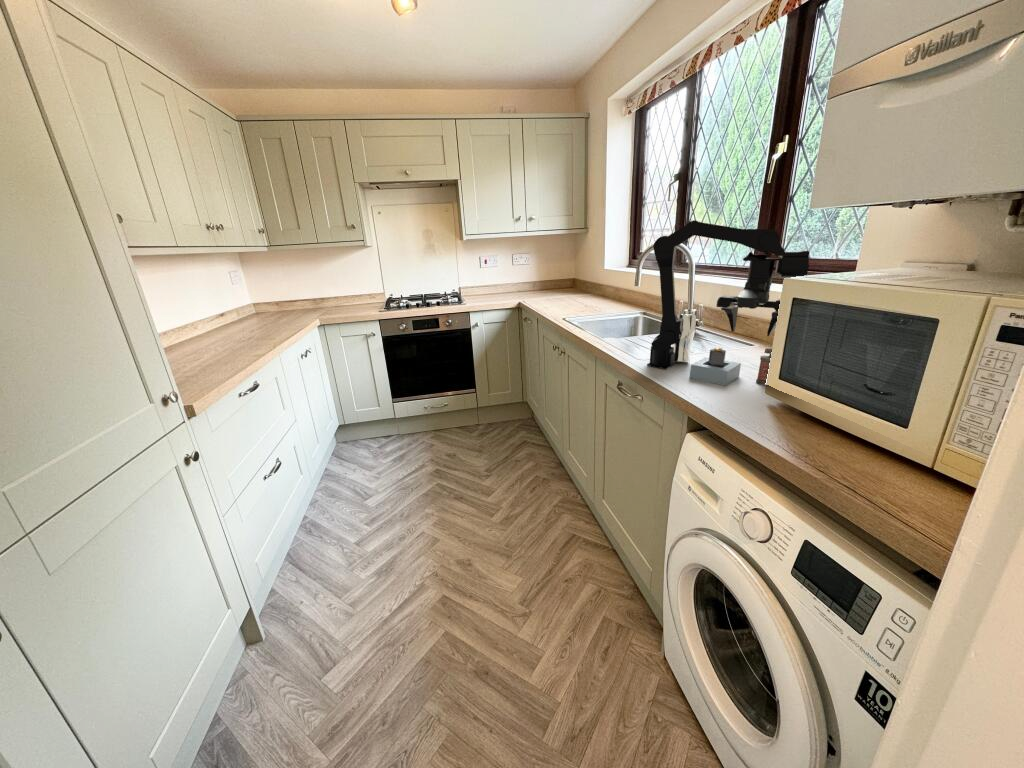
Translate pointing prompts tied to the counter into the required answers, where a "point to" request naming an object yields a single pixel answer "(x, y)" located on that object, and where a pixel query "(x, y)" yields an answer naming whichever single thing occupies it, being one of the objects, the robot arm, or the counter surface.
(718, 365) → the cell
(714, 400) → the counter surface
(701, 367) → the box
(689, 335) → the shiny silver cylinder
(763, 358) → the red decorated tea tin
